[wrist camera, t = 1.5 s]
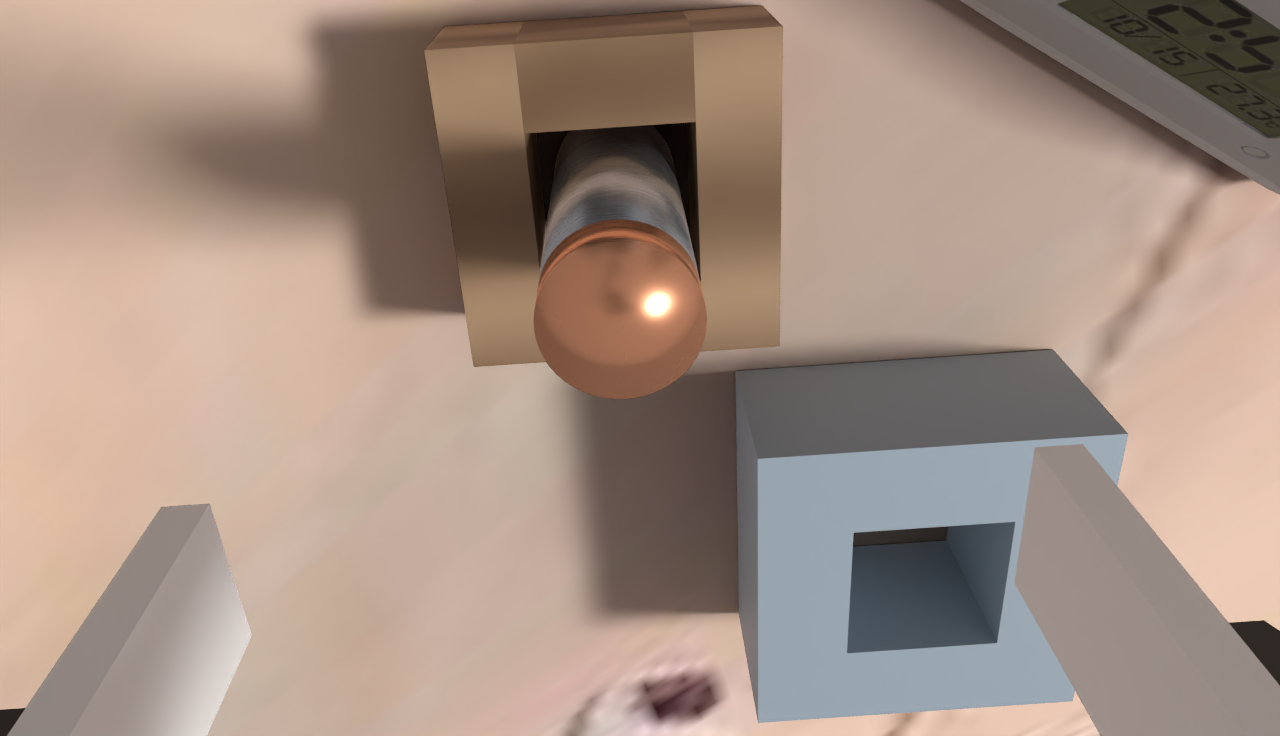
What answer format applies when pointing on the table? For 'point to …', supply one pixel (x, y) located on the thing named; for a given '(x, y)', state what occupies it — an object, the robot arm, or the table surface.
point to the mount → (605, 98)
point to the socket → (893, 500)
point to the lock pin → (618, 267)
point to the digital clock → (1172, 65)
